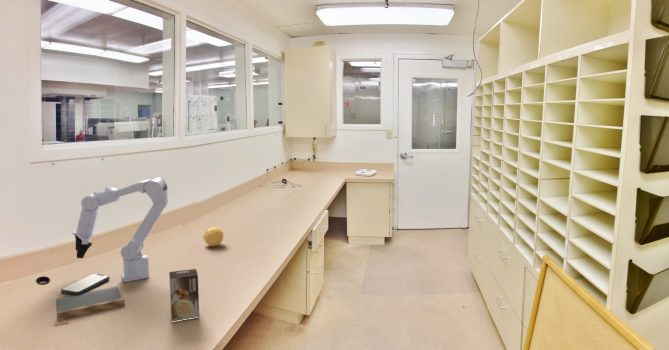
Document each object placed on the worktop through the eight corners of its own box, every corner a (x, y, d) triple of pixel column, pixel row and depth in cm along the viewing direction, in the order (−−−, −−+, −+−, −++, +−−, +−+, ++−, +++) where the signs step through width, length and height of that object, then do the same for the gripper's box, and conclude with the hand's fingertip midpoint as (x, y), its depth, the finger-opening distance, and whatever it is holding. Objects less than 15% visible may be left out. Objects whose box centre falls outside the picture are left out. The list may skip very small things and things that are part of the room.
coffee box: (197, 310, 144) (197, 268, 142) (199, 319, 138) (198, 275, 136) (170, 314, 141) (169, 271, 138) (170, 323, 135) (169, 278, 132)
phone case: (78, 296, 151) (111, 279, 166) (78, 292, 150) (111, 275, 166) (59, 293, 153) (93, 276, 168) (59, 289, 153) (93, 273, 168)
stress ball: (214, 243, 217) (199, 233, 213) (226, 230, 217) (212, 220, 213) (214, 253, 208) (199, 242, 204) (227, 239, 208) (212, 228, 204)
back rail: (124, 304, 147) (123, 297, 146) (124, 305, 145) (124, 299, 145) (57, 318, 135) (57, 311, 134) (58, 320, 134) (57, 313, 133)
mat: (117, 286, 161) (116, 285, 160) (124, 304, 147) (124, 303, 146) (56, 298, 149) (56, 297, 149) (57, 319, 135) (57, 317, 135)
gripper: (74, 215, 166) (66, 246, 167) (76, 228, 154) (68, 261, 156) (93, 217, 170) (86, 247, 171) (97, 230, 159) (89, 261, 160)
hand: (79, 253), depth 164 cm, fingers open, 7 cm apart
